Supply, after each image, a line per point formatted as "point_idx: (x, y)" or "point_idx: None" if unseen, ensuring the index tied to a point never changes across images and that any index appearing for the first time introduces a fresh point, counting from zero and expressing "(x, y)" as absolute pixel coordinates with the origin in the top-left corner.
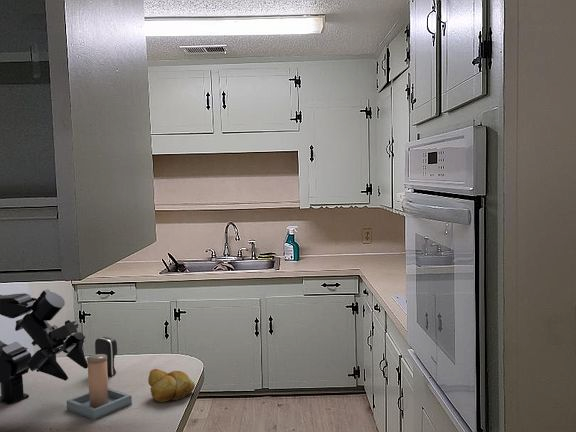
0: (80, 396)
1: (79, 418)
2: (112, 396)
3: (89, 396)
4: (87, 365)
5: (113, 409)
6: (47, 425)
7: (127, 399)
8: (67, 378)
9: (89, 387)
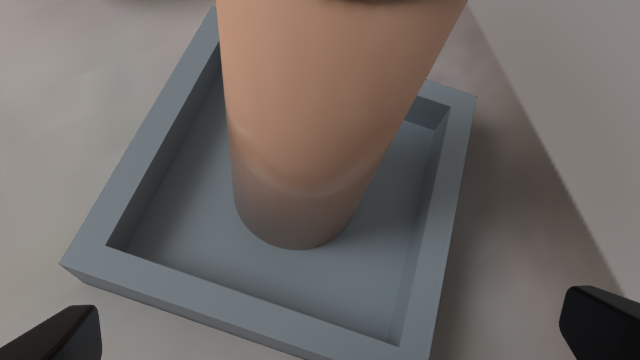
0: (313, 326)
1: (470, 217)
2: (168, 162)
3: (361, 197)
4: (81, 309)
5: None
6: None
7: None
8: (585, 286)
9: (384, 155)
